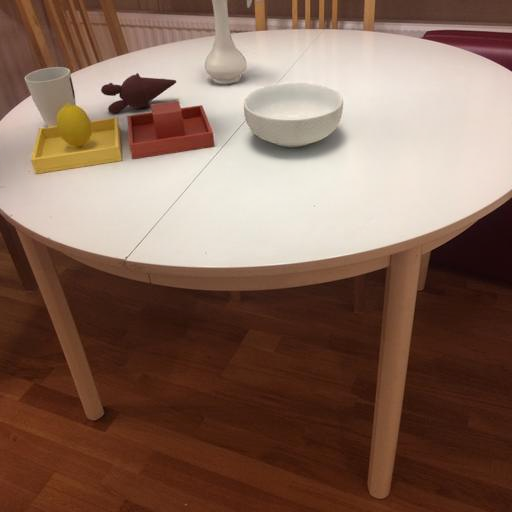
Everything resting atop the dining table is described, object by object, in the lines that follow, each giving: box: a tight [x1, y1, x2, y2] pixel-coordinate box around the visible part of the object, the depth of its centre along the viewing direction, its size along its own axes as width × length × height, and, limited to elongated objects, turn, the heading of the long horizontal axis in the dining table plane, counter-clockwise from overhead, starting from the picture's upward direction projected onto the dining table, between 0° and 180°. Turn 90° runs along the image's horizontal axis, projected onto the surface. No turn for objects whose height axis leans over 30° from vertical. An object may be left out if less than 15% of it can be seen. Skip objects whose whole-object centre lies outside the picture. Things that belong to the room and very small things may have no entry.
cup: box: [24, 66, 77, 127], centre depth 100 cm, size 8×8×10 cm
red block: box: [150, 100, 185, 140], centre depth 93 cm, size 5×5×5 cm
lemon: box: [57, 103, 92, 148], centre depth 90 cm, size 6×6×8 cm
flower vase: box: [204, 0, 261, 85], centre depth 110 cm, size 13×18×25 cm
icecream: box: [100, 72, 177, 115], centre depth 106 cm, size 7×7×15 cm
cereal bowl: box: [243, 82, 344, 148], centre depth 90 cm, size 17×17×7 cm
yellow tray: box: [30, 116, 123, 175], centre depth 92 cm, size 14×13×3 cm
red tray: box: [126, 104, 216, 160], centre depth 95 cm, size 14×13×3 cm
